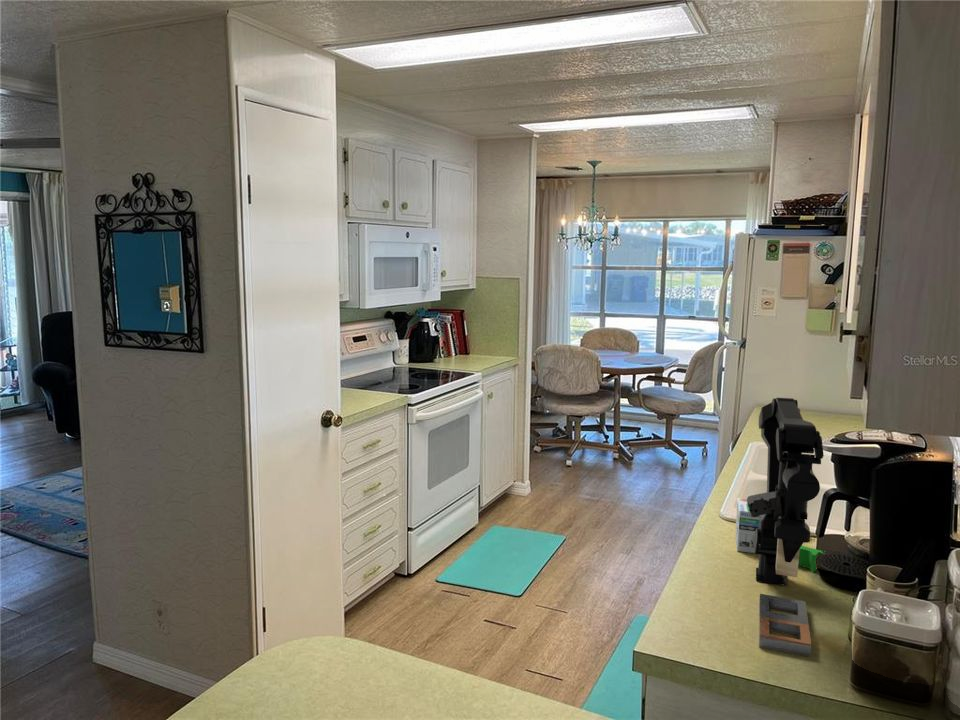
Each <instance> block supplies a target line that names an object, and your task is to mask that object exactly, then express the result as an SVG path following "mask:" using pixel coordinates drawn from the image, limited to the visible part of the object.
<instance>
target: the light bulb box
mask: <svg viewBox="0 0 960 720" xmlns="http://www.w3.org/2000/svg"><path fill="white" fill-rule="evenodd" d="M735 515H736V519H735V535H734V536H735V538H734V539H735V546H736V551H737V552H741V553H742V552H743V553H750V554H755V553H754V549H753V537H754V534H755V531H756V528H758V525H759V520H760V519H761V517H762V516H763V515H759V516H758V517H751V514H750V511H749V507H748V504H747V498H744V497H737V501H736V514H735ZM759 545H760V544H759Z"/></svg>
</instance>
